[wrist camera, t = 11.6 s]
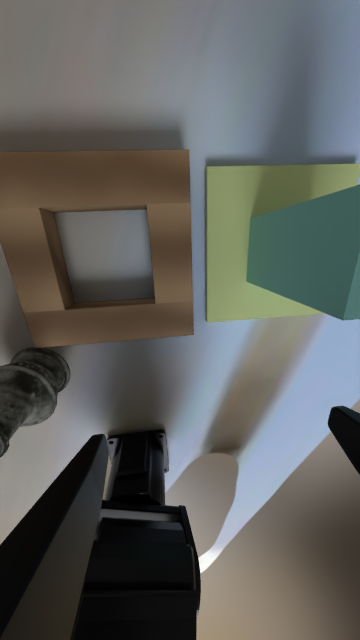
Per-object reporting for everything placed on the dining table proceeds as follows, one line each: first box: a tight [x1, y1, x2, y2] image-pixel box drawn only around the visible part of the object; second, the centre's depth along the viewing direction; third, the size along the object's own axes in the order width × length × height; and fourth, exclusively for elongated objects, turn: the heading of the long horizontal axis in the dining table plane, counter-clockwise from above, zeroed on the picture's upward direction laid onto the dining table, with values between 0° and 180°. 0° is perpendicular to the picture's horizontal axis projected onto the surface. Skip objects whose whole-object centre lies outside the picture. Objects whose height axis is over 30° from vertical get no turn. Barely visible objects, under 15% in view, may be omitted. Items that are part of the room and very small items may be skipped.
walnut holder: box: [0, 150, 194, 348], centre depth 16 cm, size 13×13×2 cm
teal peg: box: [246, 185, 360, 320], centre depth 13 cm, size 5×5×10 cm
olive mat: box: [205, 164, 360, 322], centre depth 17 cm, size 12×12×1 cm
